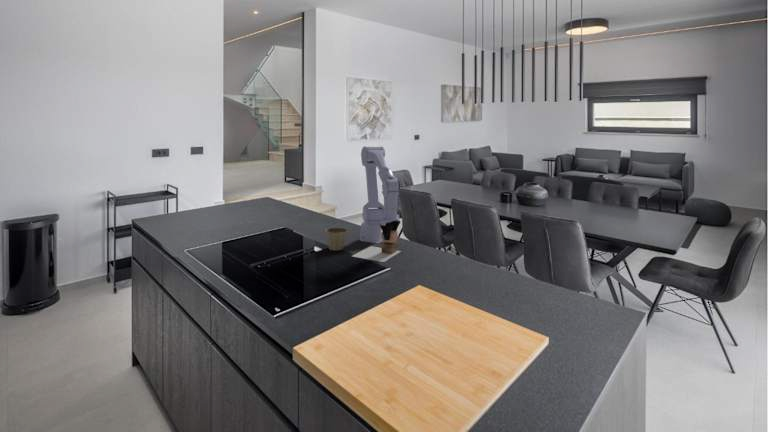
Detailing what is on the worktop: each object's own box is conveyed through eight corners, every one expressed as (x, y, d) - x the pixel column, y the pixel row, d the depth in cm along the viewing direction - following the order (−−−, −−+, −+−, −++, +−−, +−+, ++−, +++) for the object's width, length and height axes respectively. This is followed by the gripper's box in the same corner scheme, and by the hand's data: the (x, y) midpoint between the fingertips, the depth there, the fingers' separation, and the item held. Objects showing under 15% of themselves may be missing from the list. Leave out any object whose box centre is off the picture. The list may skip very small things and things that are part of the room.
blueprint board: (351, 257, 178) (351, 256, 178) (370, 247, 193) (370, 246, 193) (383, 263, 171) (383, 262, 171) (401, 252, 186) (401, 251, 186)
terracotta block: (381, 241, 183) (382, 232, 182) (387, 238, 187) (387, 229, 186) (392, 242, 180) (392, 233, 180) (397, 240, 185) (397, 231, 184)
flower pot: (348, 246, 193) (348, 228, 191) (344, 252, 183) (344, 233, 182) (328, 245, 193) (328, 226, 192) (323, 251, 184) (323, 232, 182)
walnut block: (381, 252, 184) (381, 243, 183) (386, 249, 188) (386, 240, 187) (392, 254, 182) (392, 245, 181) (396, 251, 186) (397, 242, 185)
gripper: (391, 211, 173) (390, 243, 175) (406, 205, 185) (404, 235, 188) (376, 209, 176) (375, 241, 178) (391, 203, 188) (390, 233, 191)
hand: (389, 238), depth 184 cm, fingers closed on terracotta block, 5 cm apart
